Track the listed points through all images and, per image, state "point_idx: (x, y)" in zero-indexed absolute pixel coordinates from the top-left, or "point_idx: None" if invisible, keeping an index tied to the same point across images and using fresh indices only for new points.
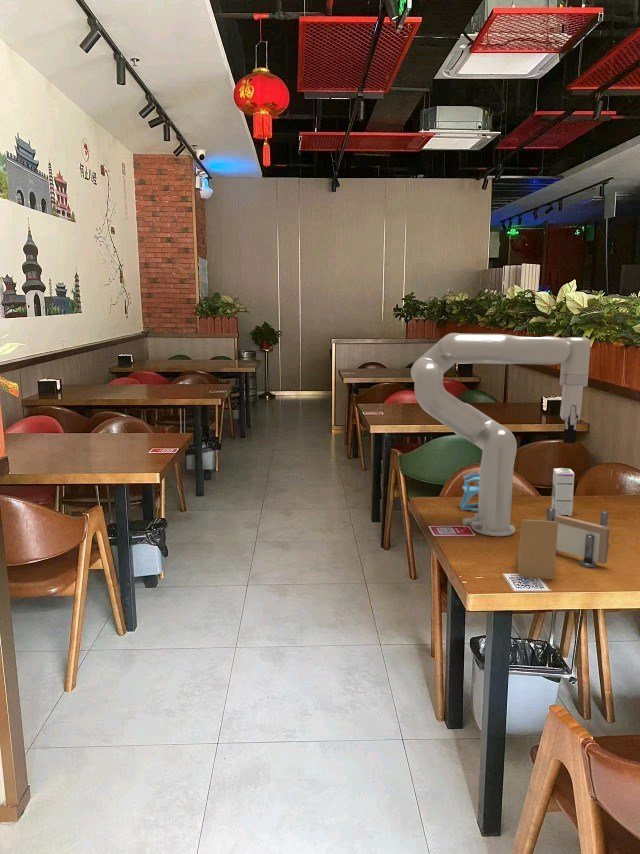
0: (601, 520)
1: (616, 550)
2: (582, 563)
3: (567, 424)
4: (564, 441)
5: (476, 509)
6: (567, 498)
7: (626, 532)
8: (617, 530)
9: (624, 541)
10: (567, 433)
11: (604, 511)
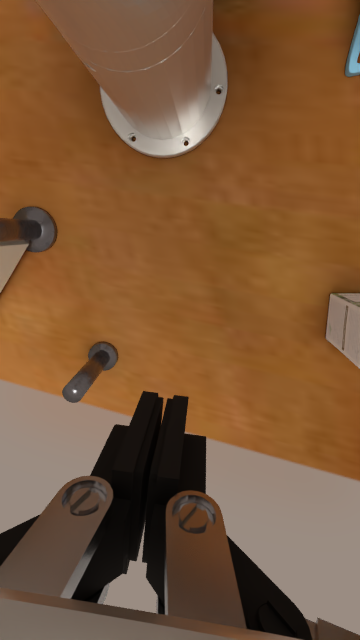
0: (75, 375)
1: None
2: None
3: (20, 552)
4: (142, 398)
5: (357, 27)
6: (347, 341)
7: (209, 428)
8: (220, 414)
9: None
10: (96, 463)
11: (75, 393)
